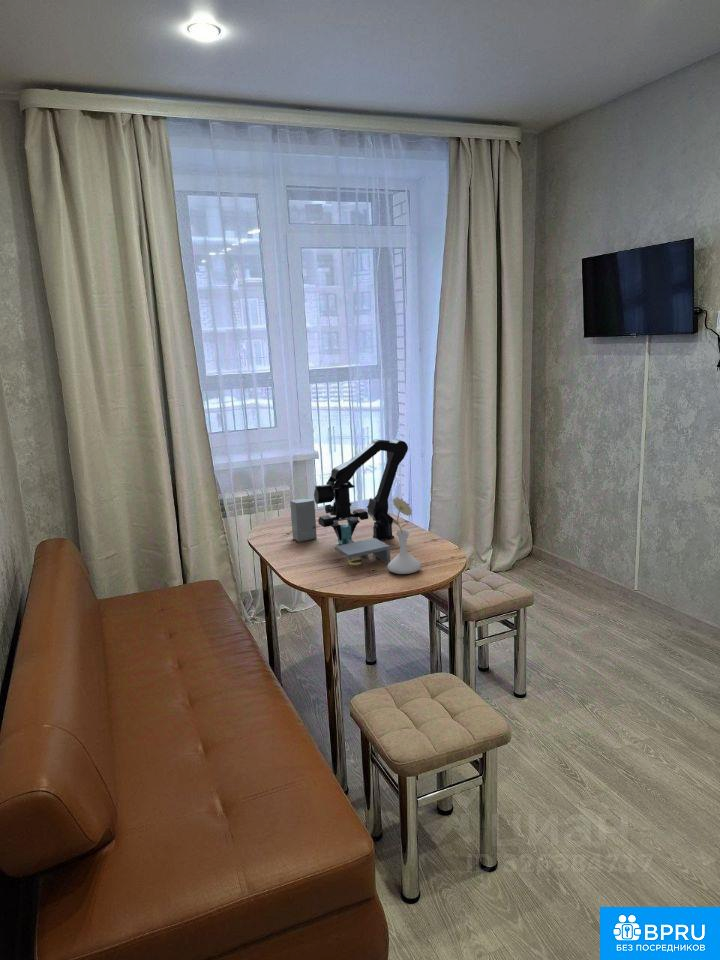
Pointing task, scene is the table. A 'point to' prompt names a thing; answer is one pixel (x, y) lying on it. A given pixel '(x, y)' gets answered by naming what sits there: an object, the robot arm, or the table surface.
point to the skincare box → (303, 519)
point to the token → (355, 562)
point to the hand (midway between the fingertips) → (344, 539)
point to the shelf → (366, 549)
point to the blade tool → (346, 535)
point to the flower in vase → (403, 545)
